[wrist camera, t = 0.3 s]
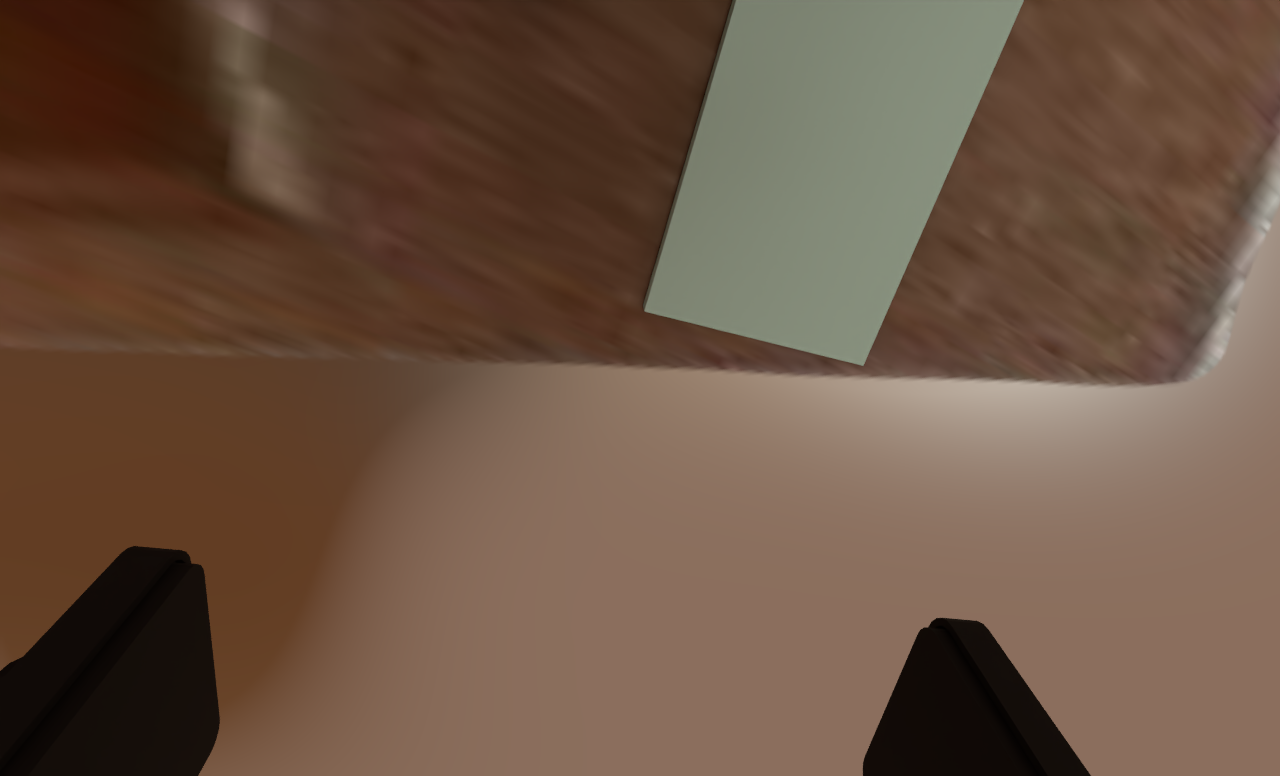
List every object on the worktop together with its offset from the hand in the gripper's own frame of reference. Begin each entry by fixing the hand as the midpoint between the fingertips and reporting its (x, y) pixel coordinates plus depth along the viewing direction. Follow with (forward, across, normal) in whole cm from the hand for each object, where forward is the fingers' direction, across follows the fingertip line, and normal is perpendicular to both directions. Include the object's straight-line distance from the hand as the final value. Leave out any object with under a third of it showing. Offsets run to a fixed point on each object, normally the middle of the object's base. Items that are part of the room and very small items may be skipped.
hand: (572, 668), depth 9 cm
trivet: (+30, -11, -5) cm, 33 cm away
